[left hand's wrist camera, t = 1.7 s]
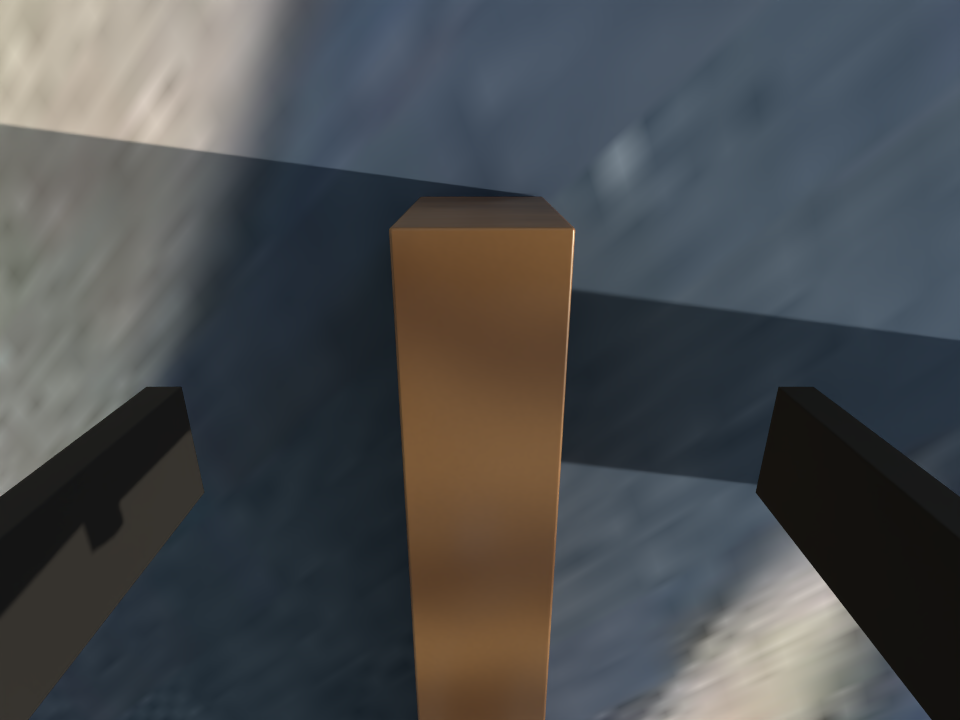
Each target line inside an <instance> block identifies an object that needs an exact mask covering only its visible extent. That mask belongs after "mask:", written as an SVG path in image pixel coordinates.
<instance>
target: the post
mask: <svg viewBox="0 0 960 720" xmlns="http://www.w3.org/2000/svg"><path fill="white" fill-rule="evenodd" d="M389 238H390V255H391V272H392V289H393V305H394V322H395V339H396V356H397V373H398V390H399V407H400V424H401V441H402V458H403V475H404V492H405V509H406V526H407V543H408V559H409V576H410V593H411V610H412V627H413V644H414V661H415V678H416V695H417V712H418V720H545V710H546V694H547V678H548V661H549V645H550V629H551V613H552V597H553V580H554V564H555V548H556V532H557V516H558V500H559V483H560V467H561V451H562V435H563V419H564V402H565V386H566V370H567V354H568V338H569V322H570V305H571V289H572V273H573V257H574V241H575V229H574V227H573V226H571V225H570V224H569V223H568V222H567V221H566V220H565V219H564V218H563V217H562V216H561V215H560V214H559V213H558V212H557V211H556V210H555V209H554V208H553V207H552V206H551V205H550V204H549V203H548V202H547V201H546V200H545V199H544V198H543V197H420V198H419V199H418V200H417V201H416V202H415V203H414V204H413V205H412V206H411V207H410V208H409V209H408V210H407V211H406V212H405V213H404V214H403V215H402V216H401V217H400V218H399V219H398V220H397V222H396V223H395V224H394V225H393V226H392V227H391V228H390V229H389Z"/></svg>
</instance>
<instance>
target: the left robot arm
mask: <svg viewBox="0 0 960 720" xmlns="http://www.w3.org/2000/svg"><path fill="white" fill-rule="evenodd" d="M203 493H204V489H203V484H202V480H201V475H200V470H199V466H198V461H197V457H196V452H195V447H194V443H193V438H192V433H191V429H190V424H189V419H188V415H187V410H186V406H185V401H184V396H183V392H182V387H146V388H144V389H143V390H142V391H140V392H139V393H138V394H136V395H135V396H134V397H132V398H131V399H130V400H129V401H127V402H126V403H125V404H123V405H122V406H121V407H119V408H118V409H117V410H115V411H114V412H113V413H111V414H110V415H109V416H107V417H106V418H105V419H103V420H102V421H101V422H99V423H98V424H97V425H95V426H94V427H93V428H91V429H90V430H89V431H87V432H86V433H85V434H83V435H82V436H81V437H79V438H78V439H77V440H75V441H74V442H73V443H71V444H70V445H69V446H67V447H66V448H65V449H63V450H62V451H61V452H59V453H58V454H57V455H55V456H54V457H53V458H51V459H50V460H49V461H47V462H46V463H45V464H43V465H42V466H41V467H39V468H38V469H37V470H35V471H34V472H33V473H31V474H30V475H29V476H27V477H26V478H25V479H23V480H22V481H21V482H19V483H18V484H17V485H15V486H14V487H13V488H11V489H10V490H9V491H7V492H6V493H5V494H3V495H2V496H1V497H0V720H28V719H29V718H30V717H31V716H32V714H33V713H34V712H35V710H36V709H37V708H38V706H39V705H40V704H41V703H42V701H43V700H44V699H45V697H46V696H47V695H48V694H49V692H50V691H51V690H52V688H53V687H54V686H55V685H56V683H57V682H58V681H59V679H60V678H61V677H62V676H63V674H64V673H65V672H66V670H67V669H68V668H69V666H70V665H71V664H72V663H73V661H74V660H75V659H76V657H77V656H78V655H79V654H80V652H81V651H82V650H83V648H84V647H85V646H86V645H87V643H88V642H89V641H90V639H91V638H92V637H93V635H94V634H95V633H96V632H97V630H98V629H99V628H100V626H101V625H102V624H103V623H104V621H105V620H106V619H107V617H108V616H109V615H110V614H111V612H112V611H113V610H114V608H115V607H116V606H117V604H118V603H119V602H120V601H121V599H122V598H123V597H124V595H125V594H126V593H127V592H128V590H129V589H130V588H131V586H132V585H133V584H134V583H135V581H136V580H137V579H138V577H139V576H140V575H141V573H142V572H143V571H144V570H145V568H146V567H147V566H148V564H149V563H150V562H151V561H152V559H153V558H154V557H155V555H156V554H157V553H158V552H159V550H160V549H161V548H162V546H163V545H164V544H165V542H166V541H167V540H168V539H169V537H170V536H171V535H172V533H173V532H174V531H175V530H176V528H177V527H178V526H179V524H180V523H181V522H182V521H183V519H184V518H185V517H186V515H187V514H188V513H189V512H190V510H191V509H192V508H193V506H194V505H195V504H196V502H197V501H198V500H199V499H200V497H201V496H202V495H203ZM756 493H757V495H758V496H759V497H760V499H761V500H762V501H763V502H764V504H765V505H766V506H767V508H768V509H769V510H770V512H771V513H772V514H773V515H774V517H775V518H776V519H777V521H778V522H779V523H780V524H781V526H782V527H783V528H784V530H785V531H786V532H787V533H788V535H789V536H790V537H791V539H792V540H793V541H794V542H795V544H796V545H797V546H798V548H799V549H800V550H801V552H802V553H803V554H804V555H805V557H806V558H807V559H808V561H809V562H810V563H811V564H812V566H813V567H814V568H815V570H816V571H817V572H818V573H819V575H820V576H821V577H822V579H823V580H824V581H825V583H826V584H827V585H828V586H829V588H830V589H831V590H832V592H833V593H834V594H835V595H836V597H837V598H838V599H839V601H840V602H841V603H842V604H843V606H844V607H845V608H846V610H847V611H848V612H849V614H850V615H851V616H852V617H853V619H854V620H855V621H856V623H857V624H858V625H859V626H860V628H861V629H862V630H863V632H864V633H865V634H866V635H867V637H868V638H869V639H870V641H871V642H872V643H873V645H874V646H875V647H876V648H877V650H878V651H879V652H880V654H881V655H882V656H883V657H884V659H885V660H886V661H887V663H888V664H889V665H890V666H891V668H892V669H893V670H894V672H895V673H896V674H897V676H898V677H899V678H900V679H901V681H902V682H903V683H904V685H905V686H906V687H907V688H908V690H909V691H910V692H911V694H912V695H913V696H914V697H915V699H916V700H917V701H918V703H919V704H920V705H921V706H922V708H923V709H924V710H925V712H926V713H927V714H928V716H929V717H930V718H931V719H932V720H960V497H959V496H958V495H957V494H955V493H954V492H953V491H951V490H950V489H949V488H947V487H946V486H945V485H943V484H942V483H941V482H939V481H938V480H937V479H935V478H934V477H933V476H931V475H930V474H929V473H927V472H926V471H925V470H923V469H922V468H921V467H919V466H918V465H917V464H915V463H914V462H913V461H911V460H910V459H909V458H907V457H906V456H905V455H903V454H902V453H901V452H899V451H898V450H897V449H895V448H894V447H893V446H891V445H890V444H889V443H887V442H886V441H885V440H883V439H882V438H881V437H879V436H878V435H877V434H875V433H874V432H873V431H871V430H870V429H869V428H867V427H866V426H865V425H863V424H862V423H861V422H859V421H858V420H857V419H855V418H854V417H853V416H851V415H850V414H849V413H847V412H846V411H845V410H843V409H842V408H841V407H839V406H838V405H837V404H835V403H834V402H833V401H831V400H830V399H829V398H828V397H826V396H825V395H824V394H822V393H821V392H820V391H818V390H817V389H816V388H814V387H778V392H777V396H776V401H775V406H774V410H773V415H772V419H771V424H770V429H769V433H768V438H767V443H766V447H765V452H764V457H763V461H762V466H761V470H760V475H759V480H758V484H757V489H756Z"/></svg>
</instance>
